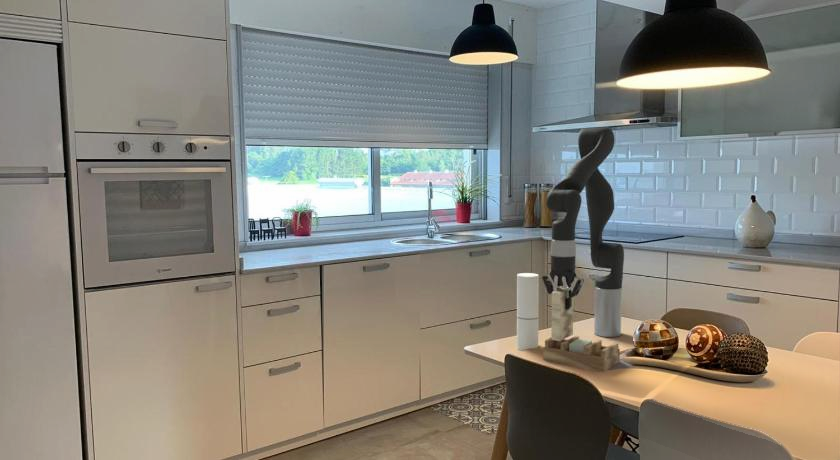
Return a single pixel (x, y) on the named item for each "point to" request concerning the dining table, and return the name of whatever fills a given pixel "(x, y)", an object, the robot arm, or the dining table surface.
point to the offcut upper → (579, 345)
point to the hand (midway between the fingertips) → (562, 308)
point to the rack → (591, 359)
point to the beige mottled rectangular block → (561, 316)
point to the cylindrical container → (527, 310)
